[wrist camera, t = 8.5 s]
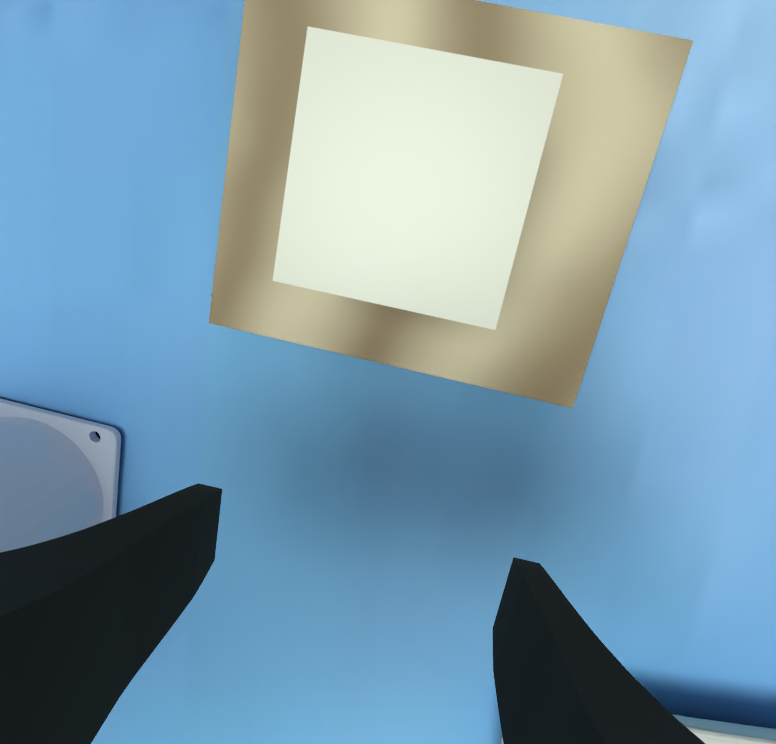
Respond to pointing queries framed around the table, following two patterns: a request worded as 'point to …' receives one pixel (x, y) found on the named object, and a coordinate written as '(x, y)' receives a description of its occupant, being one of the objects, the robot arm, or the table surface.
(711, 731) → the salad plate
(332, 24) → the plate
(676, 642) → the table surface
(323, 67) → the pale matte cube
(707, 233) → the table surface
